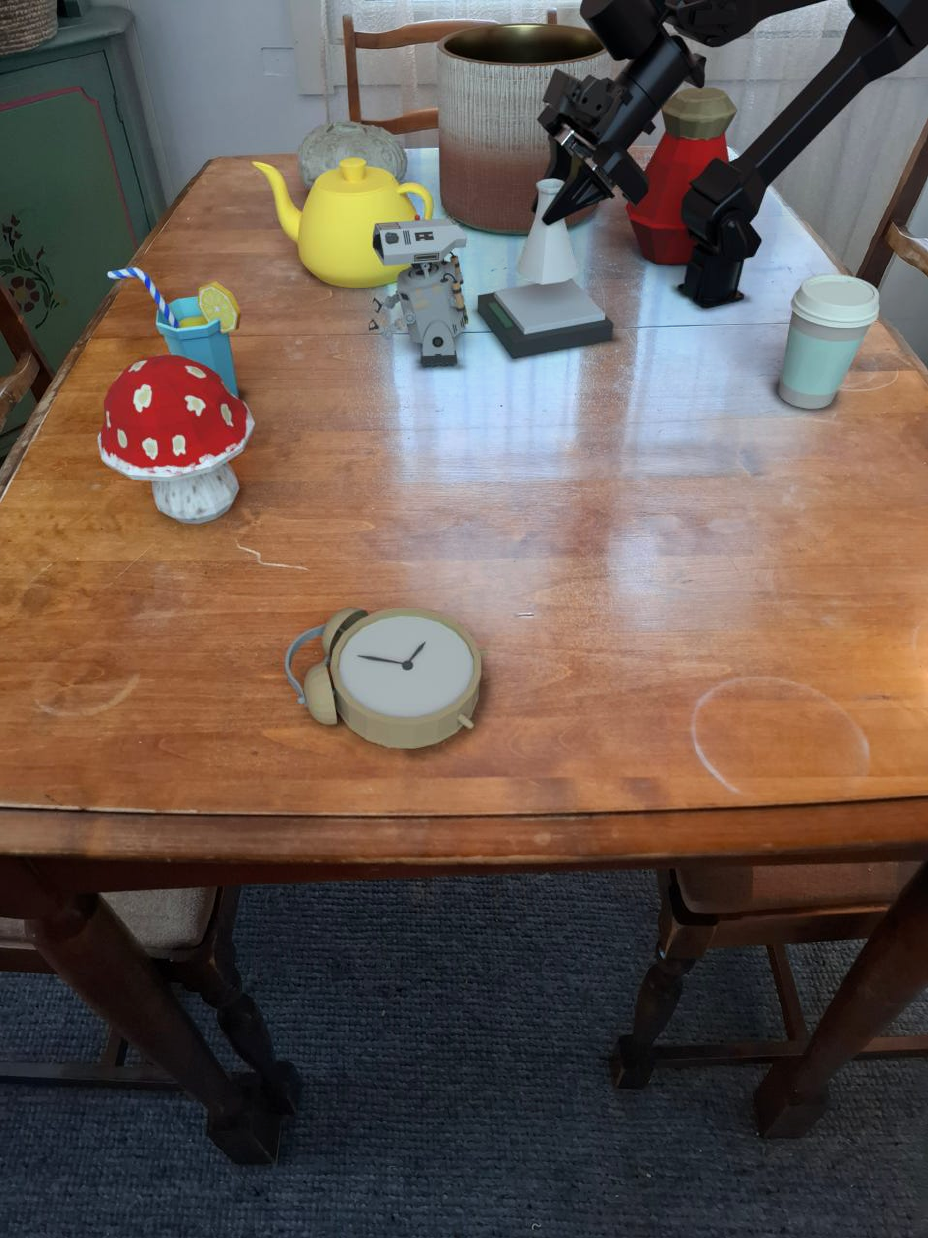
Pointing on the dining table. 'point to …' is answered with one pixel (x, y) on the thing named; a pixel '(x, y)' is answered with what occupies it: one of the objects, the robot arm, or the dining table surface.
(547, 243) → the grey faceted vase
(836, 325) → the coffee cup
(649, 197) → the bottle
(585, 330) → the kitchen scale
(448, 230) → the figurine
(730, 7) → the robot arm
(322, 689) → the alarm clock
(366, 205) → the teapot
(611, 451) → the dining table surface
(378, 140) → the decorative shell
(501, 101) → the planter
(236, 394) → the cup
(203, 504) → the decorative mushroom
